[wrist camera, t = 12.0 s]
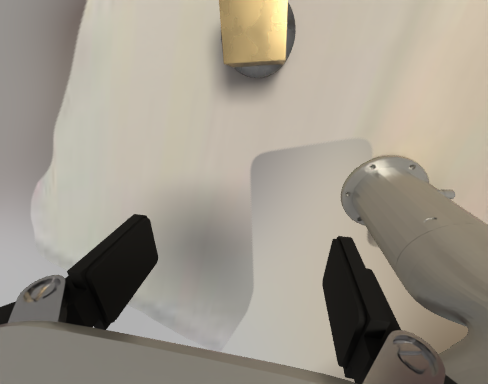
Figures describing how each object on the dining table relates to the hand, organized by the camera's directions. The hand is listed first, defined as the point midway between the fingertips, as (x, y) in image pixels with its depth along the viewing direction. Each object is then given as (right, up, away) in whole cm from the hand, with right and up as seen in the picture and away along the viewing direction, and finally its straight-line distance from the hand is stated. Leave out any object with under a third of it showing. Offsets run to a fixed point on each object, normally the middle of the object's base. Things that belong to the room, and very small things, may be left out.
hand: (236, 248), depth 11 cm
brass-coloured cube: (+2, +22, +15) cm, 27 cm away
